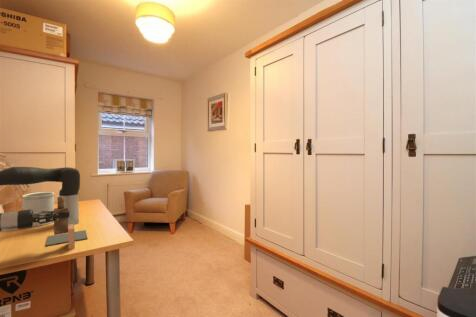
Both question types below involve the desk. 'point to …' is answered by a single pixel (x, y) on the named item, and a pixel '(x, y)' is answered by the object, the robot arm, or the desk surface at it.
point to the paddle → (62, 223)
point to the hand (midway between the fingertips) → (69, 213)
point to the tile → (71, 236)
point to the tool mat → (65, 238)
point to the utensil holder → (39, 203)
